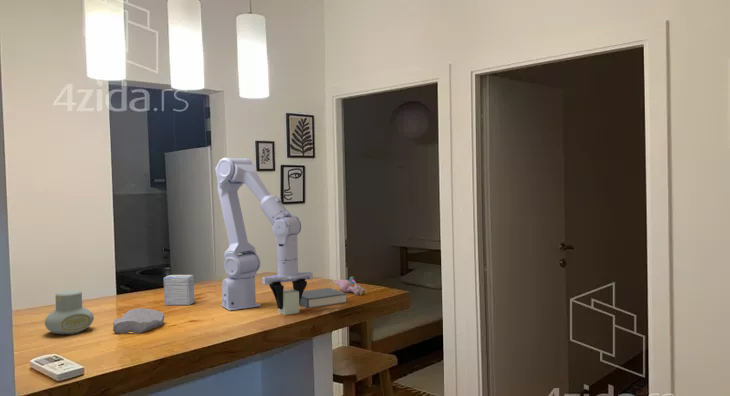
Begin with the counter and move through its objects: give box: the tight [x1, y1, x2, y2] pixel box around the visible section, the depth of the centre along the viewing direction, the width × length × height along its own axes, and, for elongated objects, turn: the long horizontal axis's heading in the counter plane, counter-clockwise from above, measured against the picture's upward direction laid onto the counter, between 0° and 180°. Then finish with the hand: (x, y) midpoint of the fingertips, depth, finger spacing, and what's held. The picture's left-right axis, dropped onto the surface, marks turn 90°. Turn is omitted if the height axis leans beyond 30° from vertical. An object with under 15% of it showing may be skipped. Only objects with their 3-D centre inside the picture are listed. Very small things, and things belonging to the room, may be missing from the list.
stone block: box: [112, 307, 165, 334], centre depth 146 cm, size 12×5×10 cm
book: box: [300, 287, 347, 309], centre depth 173 cm, size 13×11×3 cm
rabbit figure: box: [331, 276, 369, 296], centre depth 187 cm, size 6×6×15 cm
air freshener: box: [44, 289, 95, 335], centre depth 143 cm, size 11×8×10 cm
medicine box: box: [163, 274, 195, 306], centre depth 174 cm, size 8×4×9 cm, turn 84°
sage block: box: [277, 288, 300, 316], centre depth 160 cm, size 4×4×6 cm
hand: (288, 307), depth 160 cm, fingers closed on sage block, 4 cm apart
